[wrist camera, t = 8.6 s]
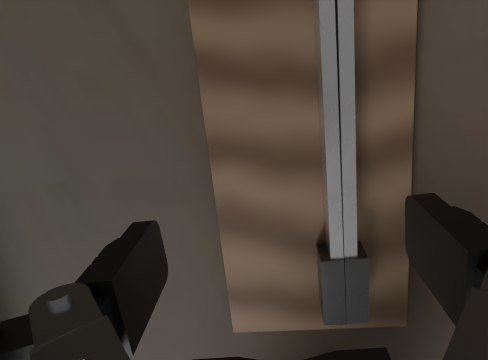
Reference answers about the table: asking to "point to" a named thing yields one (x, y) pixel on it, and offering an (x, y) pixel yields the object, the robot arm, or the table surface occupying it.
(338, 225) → the arm
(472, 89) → the table surface
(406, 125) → the board
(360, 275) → the arm
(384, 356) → the robot arm
